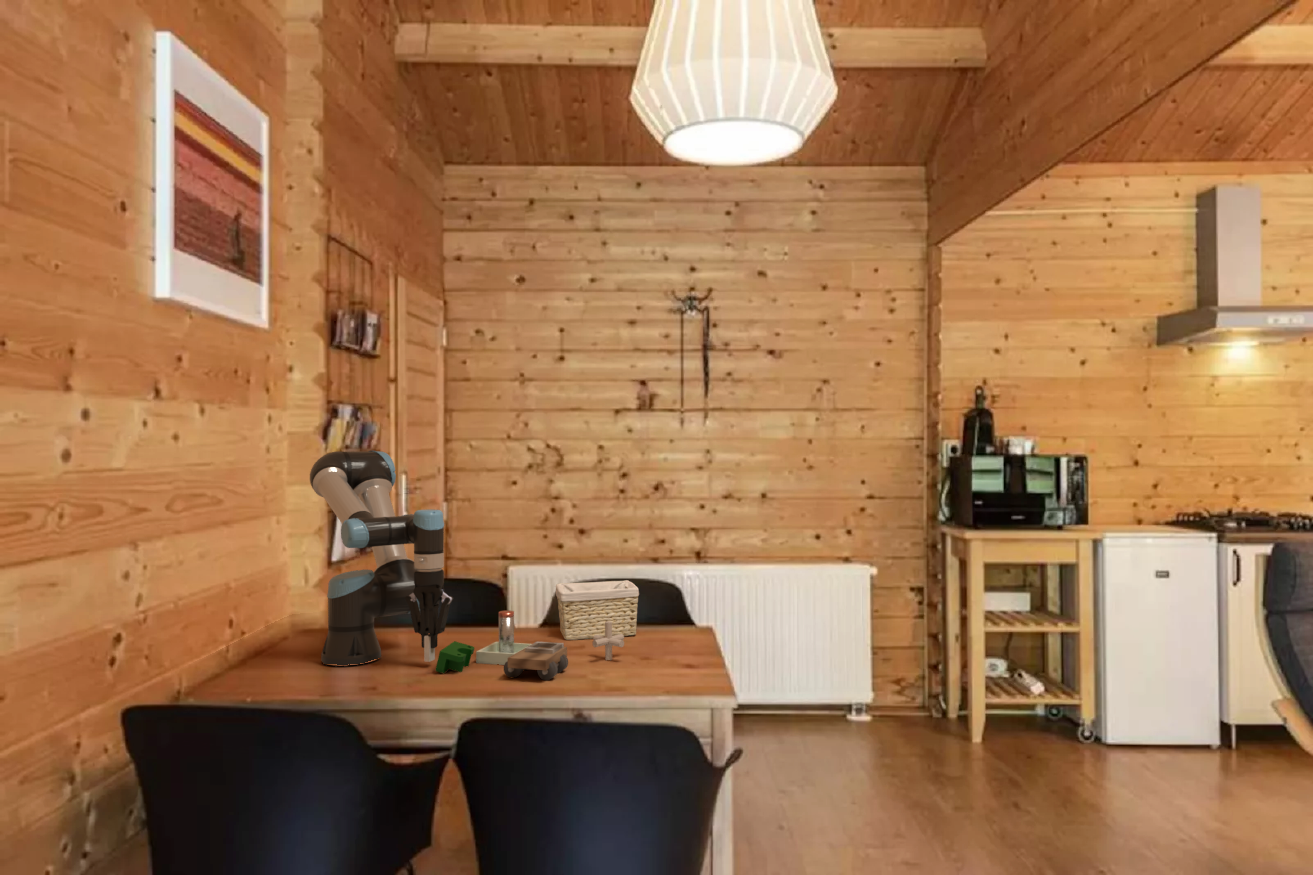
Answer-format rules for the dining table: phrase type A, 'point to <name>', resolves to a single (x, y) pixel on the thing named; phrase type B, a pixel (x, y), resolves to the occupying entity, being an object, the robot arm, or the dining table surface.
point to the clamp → (454, 657)
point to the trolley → (538, 660)
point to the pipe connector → (608, 640)
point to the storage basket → (597, 608)
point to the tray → (496, 653)
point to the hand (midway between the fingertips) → (429, 660)
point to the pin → (506, 631)
